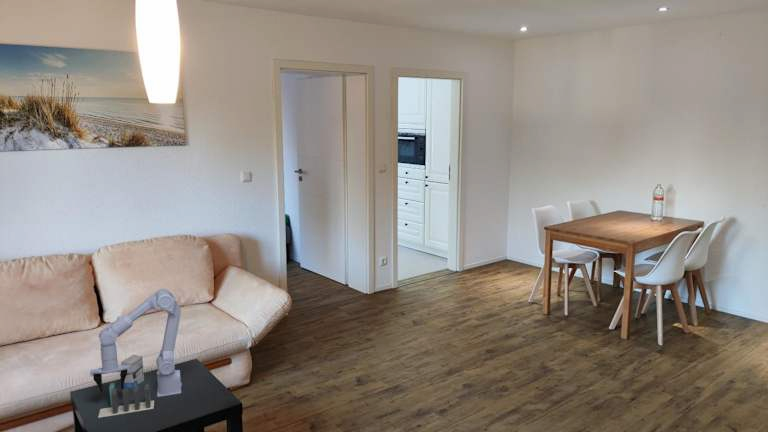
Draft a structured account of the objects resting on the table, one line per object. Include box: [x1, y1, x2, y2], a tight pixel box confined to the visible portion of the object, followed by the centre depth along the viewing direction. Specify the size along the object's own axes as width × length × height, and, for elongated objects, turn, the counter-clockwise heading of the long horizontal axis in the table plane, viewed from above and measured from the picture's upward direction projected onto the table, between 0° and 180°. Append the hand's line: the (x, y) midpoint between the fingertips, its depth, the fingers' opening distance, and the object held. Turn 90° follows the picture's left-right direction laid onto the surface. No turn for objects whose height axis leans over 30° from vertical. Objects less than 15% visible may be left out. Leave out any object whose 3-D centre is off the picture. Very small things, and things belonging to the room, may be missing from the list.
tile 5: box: [144, 383, 152, 408], centre depth 226 cm, size 2×5×8 cm, turn 20°
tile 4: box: [133, 384, 141, 410], centre depth 225 cm, size 2×5×8 cm, turn 20°
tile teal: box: [108, 382, 116, 407], centre depth 228 cm, size 2×5×8 cm, turn 20°
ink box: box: [120, 354, 145, 390], centre depth 245 cm, size 8×5×12 cm, turn 168°
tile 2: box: [111, 388, 120, 414], centre depth 222 cm, size 2×5×8 cm, turn 20°
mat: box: [97, 400, 155, 419], centre depth 224 cm, size 20×7×1 cm, turn 110°
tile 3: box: [122, 387, 130, 412], centre depth 224 cm, size 2×5×8 cm, turn 20°
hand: (112, 389), depth 228 cm, fingers open, 7 cm apart
